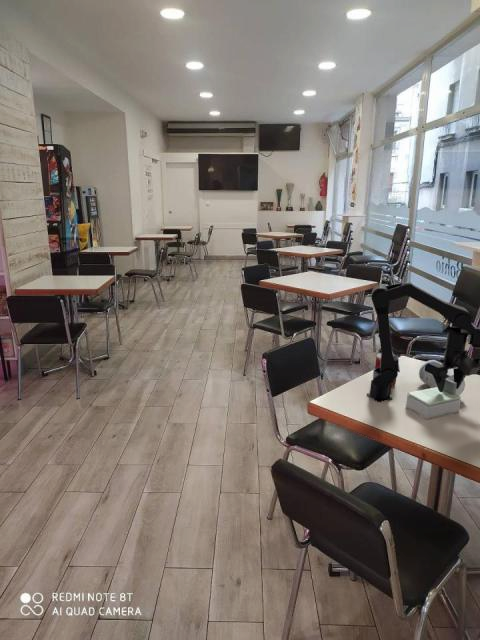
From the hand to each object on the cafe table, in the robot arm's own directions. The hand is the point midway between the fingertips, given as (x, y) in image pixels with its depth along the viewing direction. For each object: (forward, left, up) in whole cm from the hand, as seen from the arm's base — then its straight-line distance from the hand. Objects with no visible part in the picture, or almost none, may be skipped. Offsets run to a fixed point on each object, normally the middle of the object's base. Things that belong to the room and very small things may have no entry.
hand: (448, 390), depth 147 cm
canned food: (-6, +23, -6) cm, 25 cm away
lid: (-6, 0, -1) cm, 6 cm away
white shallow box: (-6, 0, -6) cm, 9 cm away
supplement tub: (+10, +18, -1) cm, 20 cm away
